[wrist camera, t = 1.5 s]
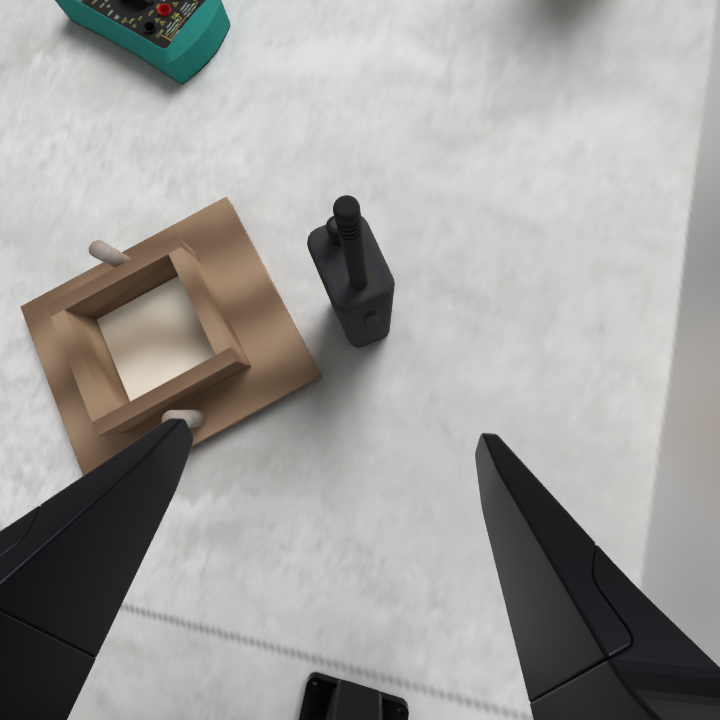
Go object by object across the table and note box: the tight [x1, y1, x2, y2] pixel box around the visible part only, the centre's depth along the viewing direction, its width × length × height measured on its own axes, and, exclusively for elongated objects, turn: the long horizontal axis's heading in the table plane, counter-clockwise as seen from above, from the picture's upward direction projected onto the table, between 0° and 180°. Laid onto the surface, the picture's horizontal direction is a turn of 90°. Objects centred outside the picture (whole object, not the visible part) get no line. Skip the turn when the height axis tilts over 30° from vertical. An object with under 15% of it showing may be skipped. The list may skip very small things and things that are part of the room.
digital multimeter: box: [55, 0, 230, 83], centre depth 29 cm, size 7×15×3 cm, turn 56°
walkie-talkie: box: [307, 195, 395, 347], centre depth 17 cm, size 5×3×15 cm
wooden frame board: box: [21, 197, 322, 476], centre depth 23 cm, size 16×18×4 cm
